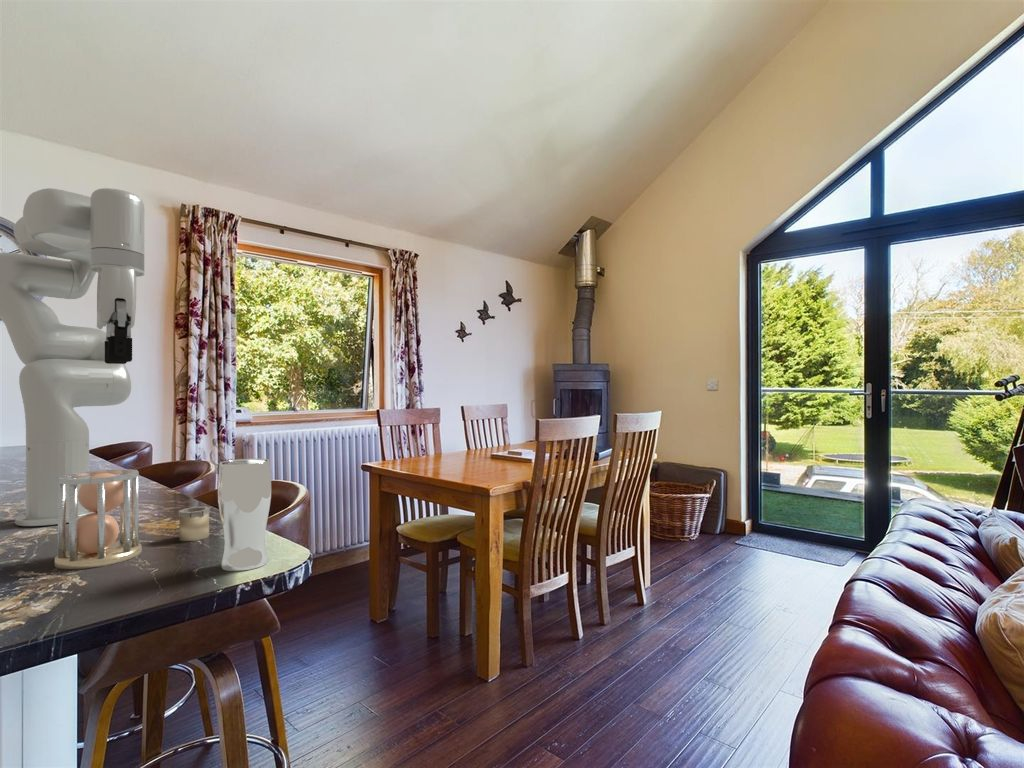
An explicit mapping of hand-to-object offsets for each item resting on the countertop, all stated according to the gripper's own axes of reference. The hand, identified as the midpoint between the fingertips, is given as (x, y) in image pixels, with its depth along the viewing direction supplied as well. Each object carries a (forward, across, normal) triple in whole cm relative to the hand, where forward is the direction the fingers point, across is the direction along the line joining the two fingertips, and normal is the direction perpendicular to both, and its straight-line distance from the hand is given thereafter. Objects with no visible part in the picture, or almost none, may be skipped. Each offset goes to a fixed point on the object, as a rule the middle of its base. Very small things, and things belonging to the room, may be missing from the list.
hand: (117, 362), depth 92 cm
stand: (+30, +9, +10) cm, 33 cm away
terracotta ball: (+21, +11, -2) cm, 24 cm away
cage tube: (+30, +12, -3) cm, 33 cm away
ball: (+26, +13, -4) cm, 29 cm away
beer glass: (+30, +30, +13) cm, 45 cm away
